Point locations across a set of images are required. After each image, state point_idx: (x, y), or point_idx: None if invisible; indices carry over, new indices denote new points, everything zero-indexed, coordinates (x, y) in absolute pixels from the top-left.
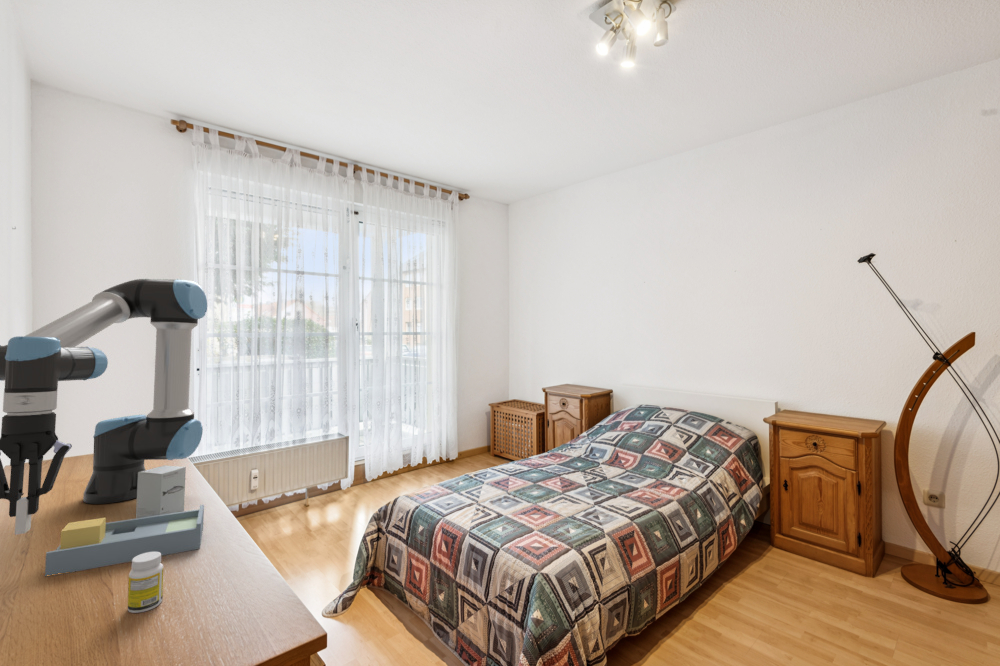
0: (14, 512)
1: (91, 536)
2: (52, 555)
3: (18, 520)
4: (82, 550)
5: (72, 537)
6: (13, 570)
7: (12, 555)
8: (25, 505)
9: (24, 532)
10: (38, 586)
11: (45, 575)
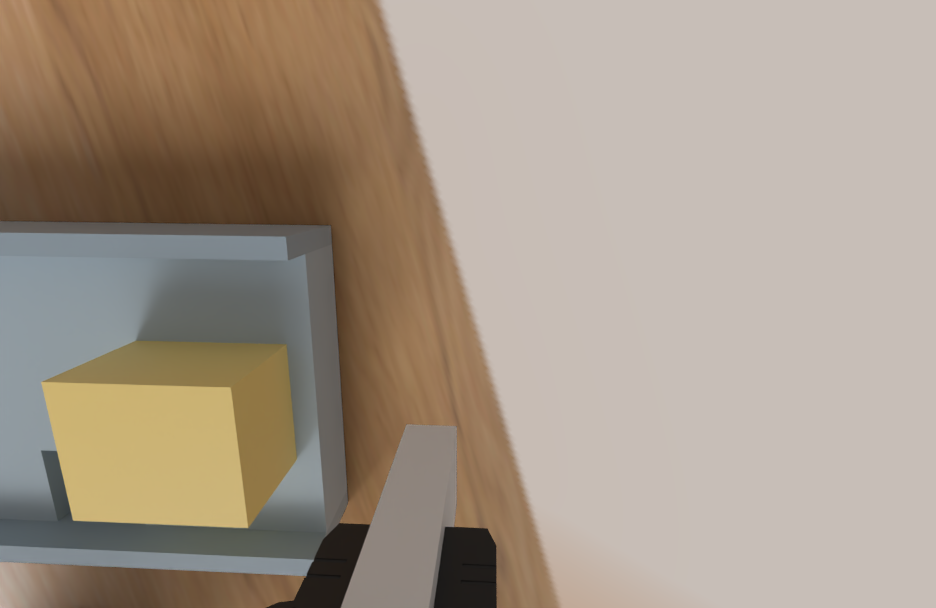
0: (460, 556)
1: (129, 358)
2: (266, 233)
3: (431, 484)
4: (145, 233)
5: (205, 365)
6: (475, 373)
7: (528, 541)
8: (362, 573)
9: (408, 426)
10: (322, 129)
11: (327, 226)
